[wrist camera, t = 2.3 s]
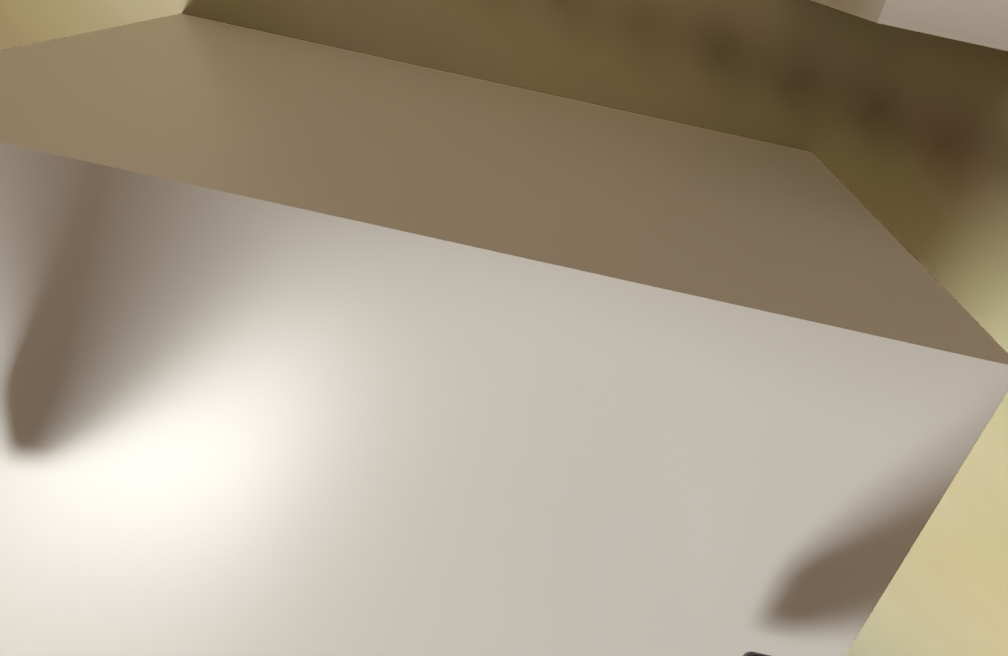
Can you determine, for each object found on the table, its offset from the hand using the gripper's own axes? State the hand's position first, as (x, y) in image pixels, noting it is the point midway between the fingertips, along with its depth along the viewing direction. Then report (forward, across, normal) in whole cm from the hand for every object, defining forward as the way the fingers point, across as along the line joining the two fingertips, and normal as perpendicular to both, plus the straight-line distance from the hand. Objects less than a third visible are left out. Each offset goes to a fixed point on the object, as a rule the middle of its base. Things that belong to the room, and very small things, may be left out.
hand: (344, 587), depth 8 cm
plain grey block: (+9, 0, 0) cm, 9 cm away
